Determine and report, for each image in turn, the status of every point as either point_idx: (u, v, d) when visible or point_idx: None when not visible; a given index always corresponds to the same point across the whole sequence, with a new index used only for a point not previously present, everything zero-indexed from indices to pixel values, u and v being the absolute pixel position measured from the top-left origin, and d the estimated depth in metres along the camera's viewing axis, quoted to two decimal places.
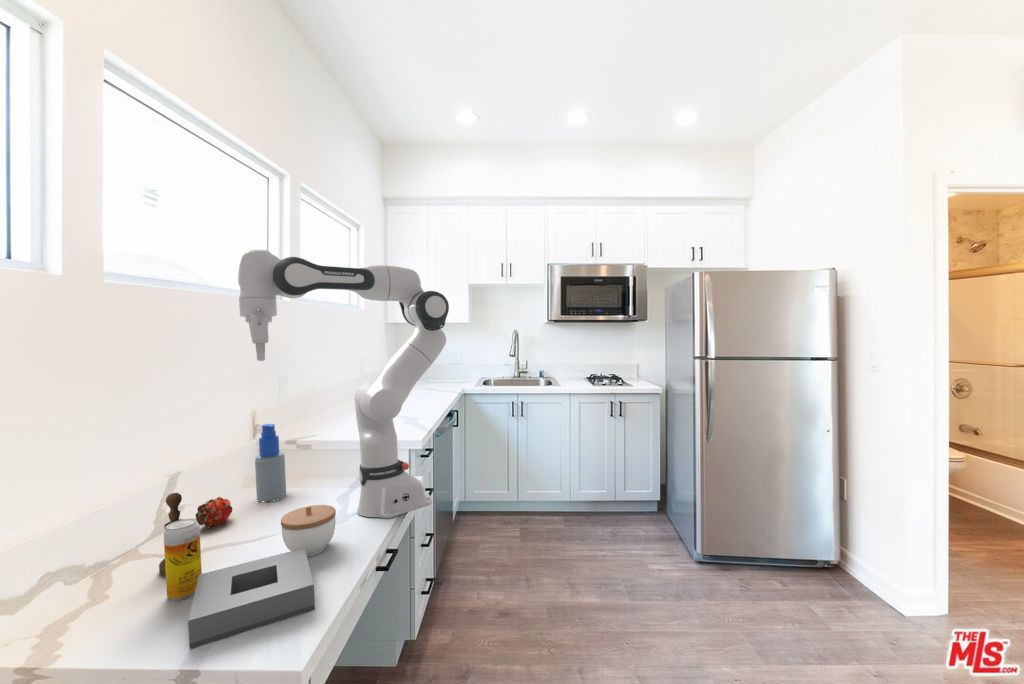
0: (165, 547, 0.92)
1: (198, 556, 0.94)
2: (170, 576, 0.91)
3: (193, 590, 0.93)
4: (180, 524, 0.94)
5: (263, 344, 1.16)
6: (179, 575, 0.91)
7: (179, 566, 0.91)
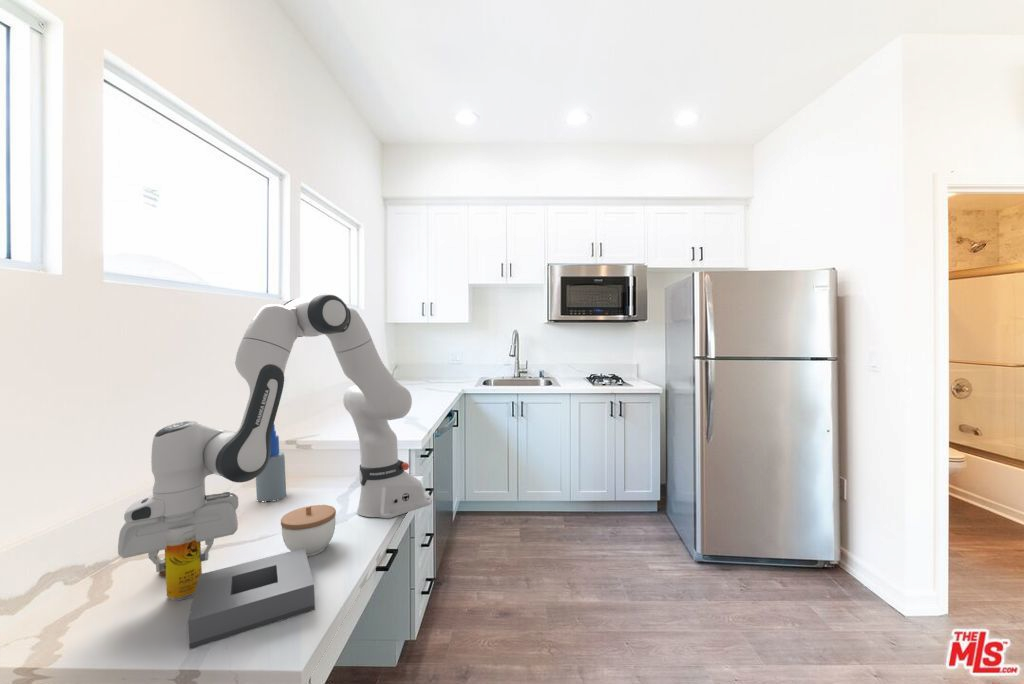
0: None
1: (198, 556, 0.94)
2: (171, 576, 0.91)
3: (193, 590, 0.93)
4: None
5: None
6: (179, 575, 0.91)
7: (179, 566, 0.91)
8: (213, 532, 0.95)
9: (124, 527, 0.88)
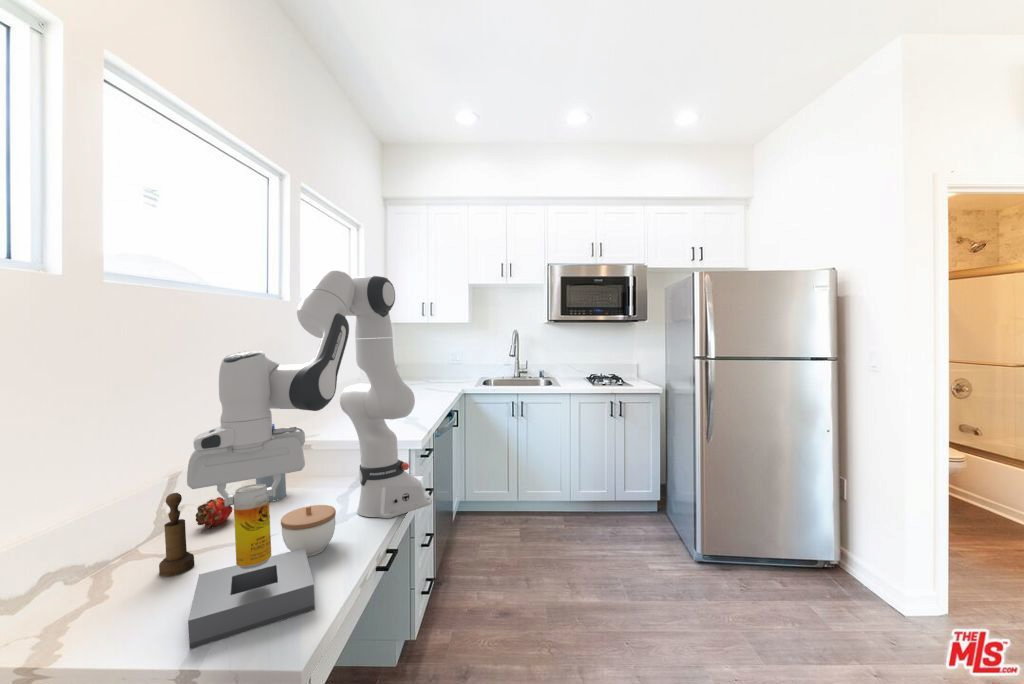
0: (236, 512, 0.87)
1: (268, 522, 0.90)
2: (242, 543, 0.86)
3: (264, 558, 0.88)
4: (249, 488, 0.89)
5: None
6: (250, 541, 0.86)
7: (251, 531, 0.86)
8: (281, 467, 0.91)
9: (193, 456, 0.83)
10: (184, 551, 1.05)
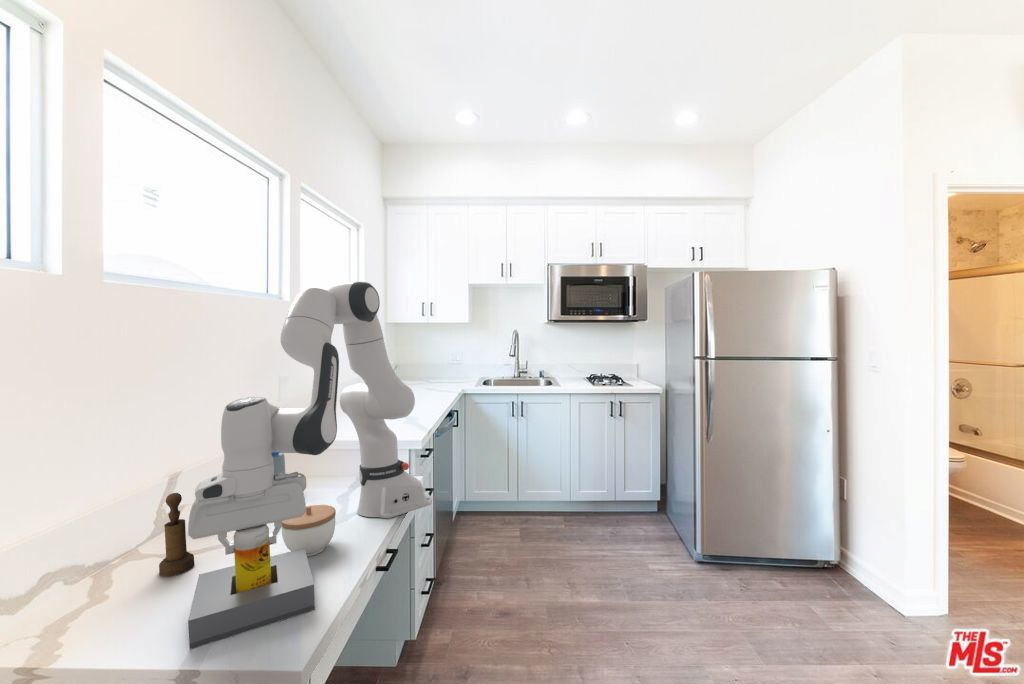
0: (236, 552, 0.86)
1: (269, 561, 0.89)
2: (242, 583, 0.86)
3: None
4: (250, 527, 0.89)
5: None
6: (251, 581, 0.86)
7: (252, 571, 0.86)
8: (282, 513, 0.90)
9: (195, 506, 0.83)
10: (184, 551, 1.05)
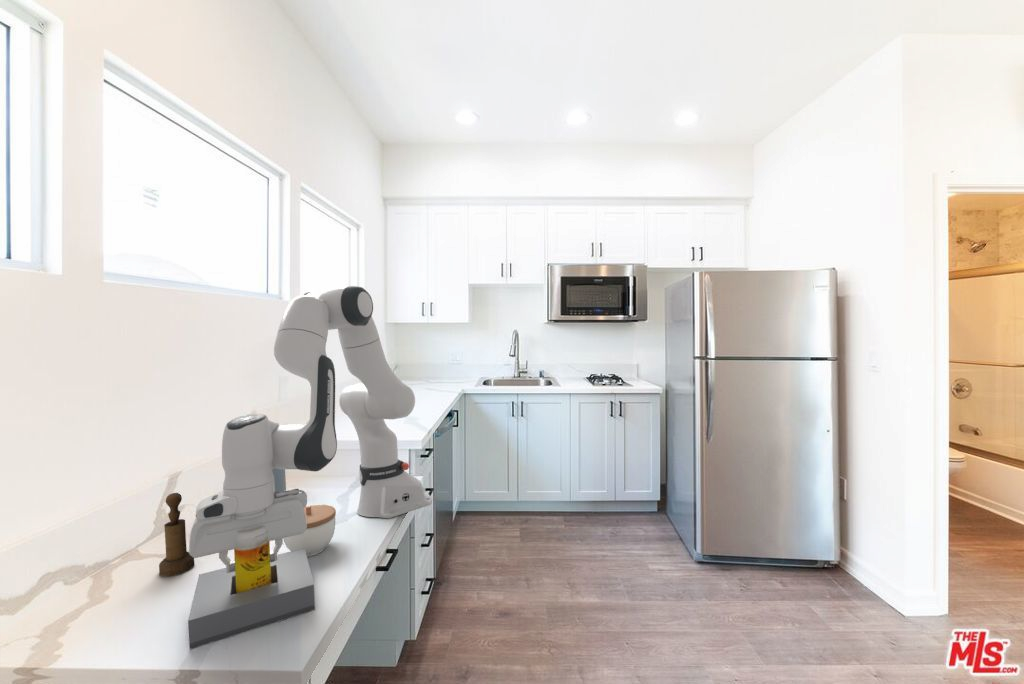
0: (236, 552, 0.86)
1: (269, 561, 0.89)
2: (242, 583, 0.86)
3: None
4: None
5: None
6: (251, 581, 0.86)
7: (252, 571, 0.86)
8: (283, 531, 0.90)
9: (196, 525, 0.83)
10: (184, 551, 1.05)
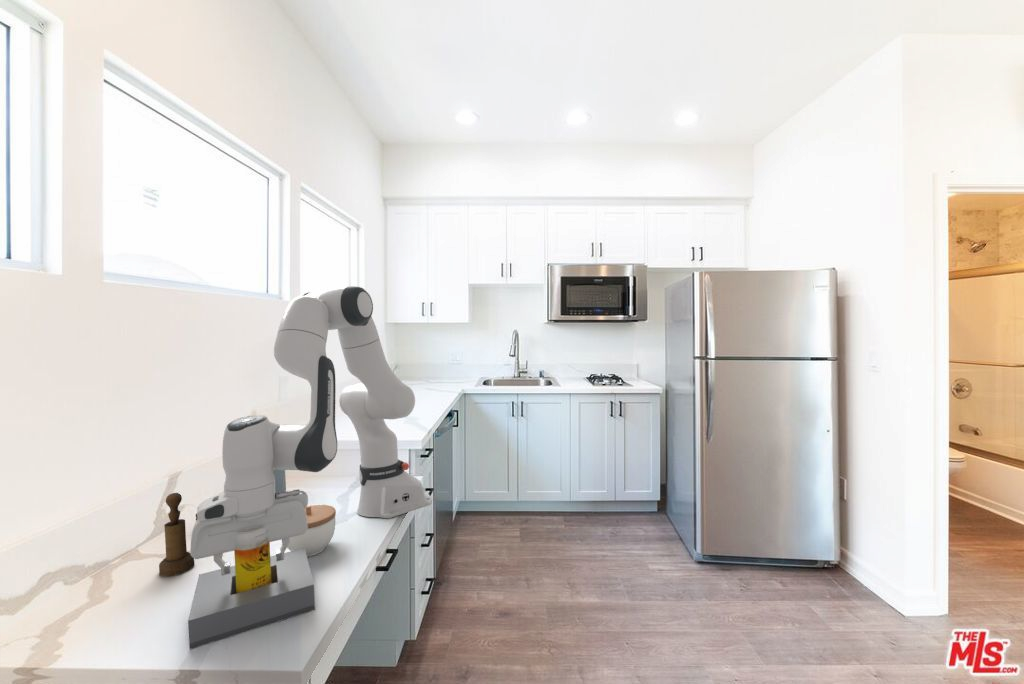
0: (236, 551, 0.86)
1: (269, 561, 0.89)
2: (242, 583, 0.86)
3: None
4: None
5: None
6: (251, 581, 0.86)
7: (252, 571, 0.86)
8: (284, 532, 0.91)
9: (197, 526, 0.83)
10: (184, 551, 1.05)
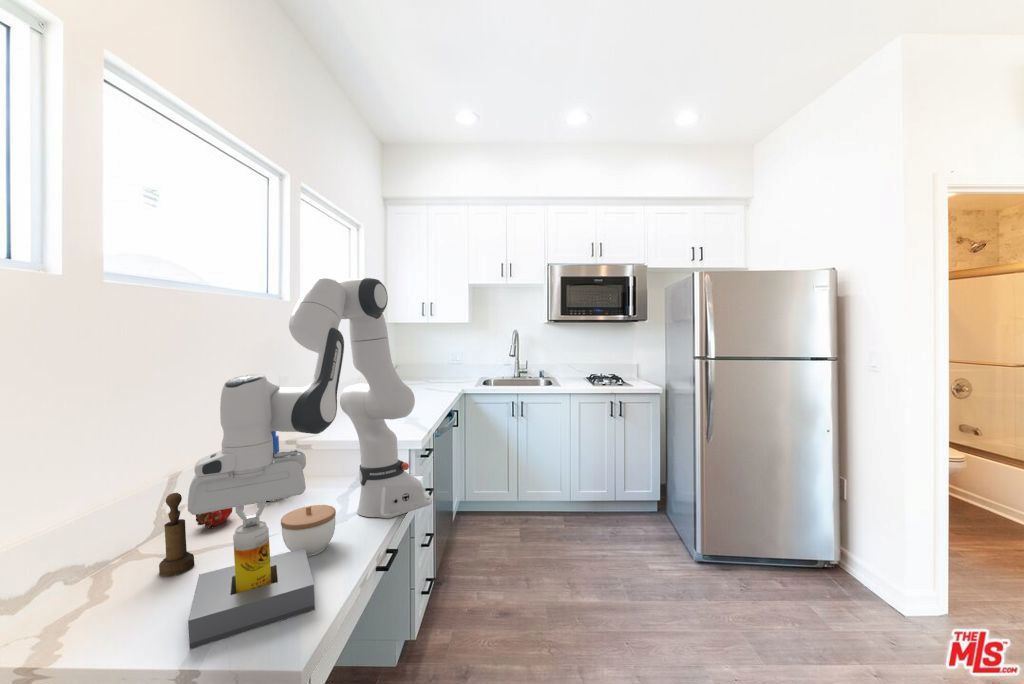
0: (236, 552, 0.86)
1: (268, 561, 0.89)
2: (242, 583, 0.86)
3: None
4: (249, 527, 0.88)
5: None
6: (251, 581, 0.86)
7: (251, 572, 0.86)
8: (282, 491, 0.90)
9: (194, 481, 0.83)
10: (184, 551, 1.05)
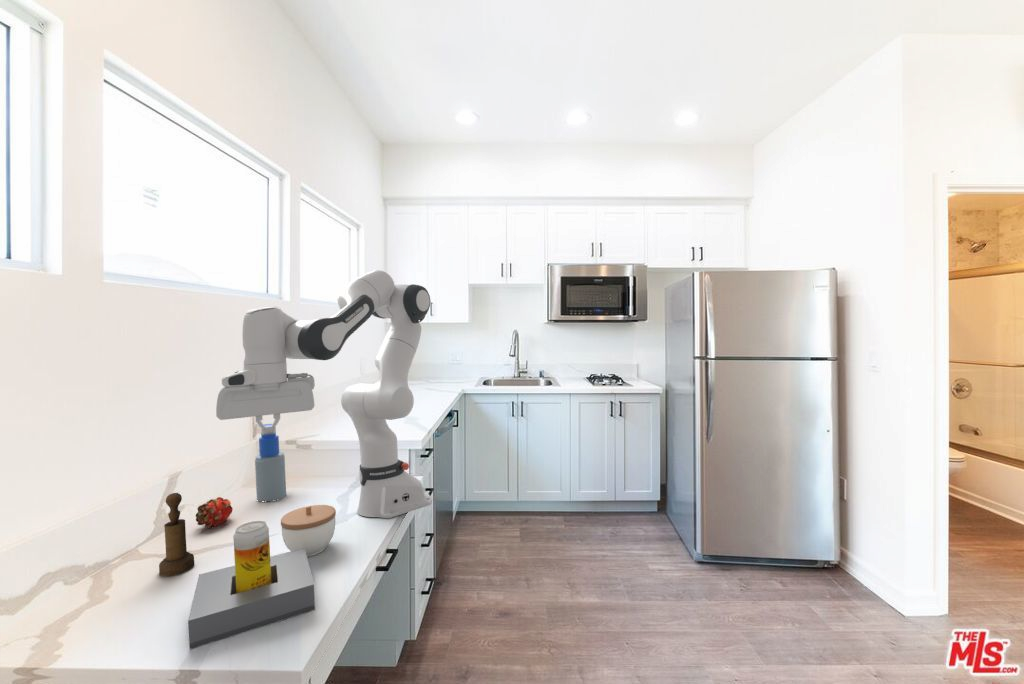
0: (236, 551, 0.86)
1: (269, 560, 0.89)
2: (242, 583, 0.86)
3: None
4: (250, 527, 0.89)
5: None
6: (251, 581, 0.86)
7: (252, 571, 0.86)
8: (294, 406, 1.06)
9: (222, 391, 0.98)
10: (184, 551, 1.05)
